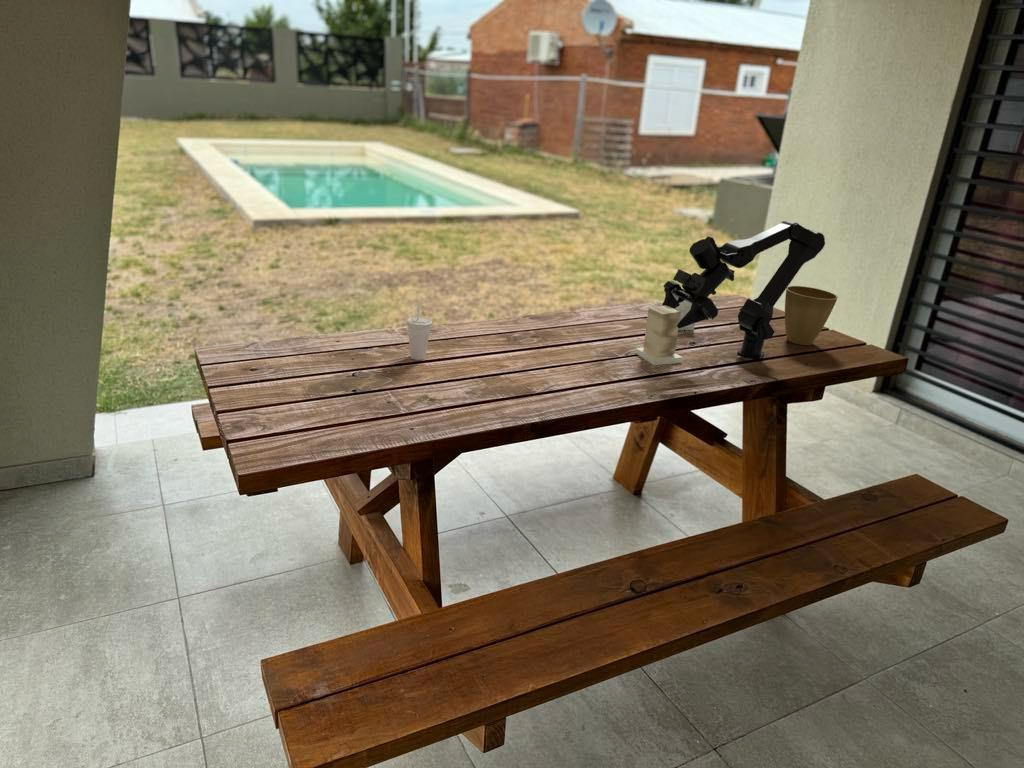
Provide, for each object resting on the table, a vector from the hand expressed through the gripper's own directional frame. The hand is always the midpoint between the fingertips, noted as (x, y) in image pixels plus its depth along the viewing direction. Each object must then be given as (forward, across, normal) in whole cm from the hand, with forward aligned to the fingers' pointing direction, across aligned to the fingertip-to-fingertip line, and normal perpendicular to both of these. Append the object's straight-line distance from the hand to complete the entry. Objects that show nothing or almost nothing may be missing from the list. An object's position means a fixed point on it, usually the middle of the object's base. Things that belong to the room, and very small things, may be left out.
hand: (667, 321), depth 198 cm
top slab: (+8, 0, +6) cm, 10 cm away
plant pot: (-31, -7, +48) cm, 58 cm away
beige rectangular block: (+7, 0, +5) cm, 9 cm away
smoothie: (+54, -13, -38) cm, 67 cm away
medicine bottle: (-8, -25, +25) cm, 37 cm away
